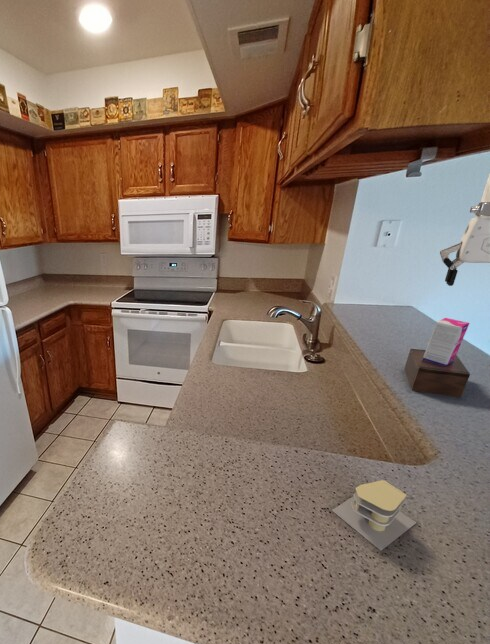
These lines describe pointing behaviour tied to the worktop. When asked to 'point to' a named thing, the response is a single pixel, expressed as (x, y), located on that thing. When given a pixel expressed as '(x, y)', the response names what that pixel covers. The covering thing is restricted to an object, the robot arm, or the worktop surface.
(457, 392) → the dark wooden box
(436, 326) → the supplement box
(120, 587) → the worktop surface
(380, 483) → the stacked layers on plate
